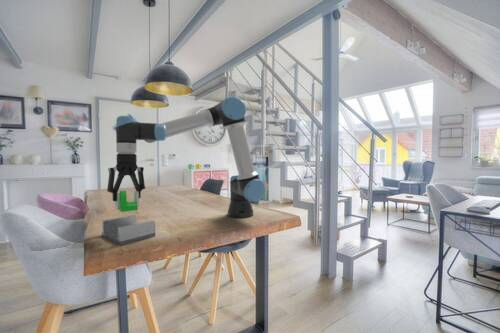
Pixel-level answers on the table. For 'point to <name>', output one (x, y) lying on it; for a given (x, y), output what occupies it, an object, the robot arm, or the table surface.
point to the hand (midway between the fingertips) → (127, 207)
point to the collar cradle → (127, 229)
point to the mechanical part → (126, 203)
